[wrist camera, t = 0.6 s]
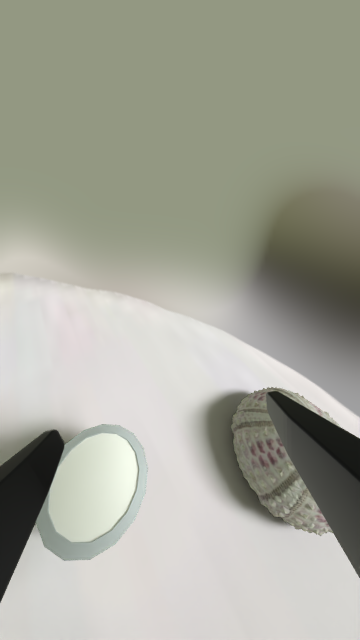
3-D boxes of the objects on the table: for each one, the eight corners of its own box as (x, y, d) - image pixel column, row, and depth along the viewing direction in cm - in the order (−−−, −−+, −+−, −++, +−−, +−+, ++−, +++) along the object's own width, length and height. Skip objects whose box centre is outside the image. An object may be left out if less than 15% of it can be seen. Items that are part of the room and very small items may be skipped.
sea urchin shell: (335, 447, 25) (393, 428, 19) (325, 584, 16) (428, 617, 10) (249, 381, 30) (277, 351, 24) (203, 457, 21) (232, 436, 15)
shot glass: (155, 477, 18) (167, 463, 14) (97, 576, 14) (84, 606, 9) (107, 431, 20) (104, 405, 16) (42, 503, 16) (9, 497, 11)
